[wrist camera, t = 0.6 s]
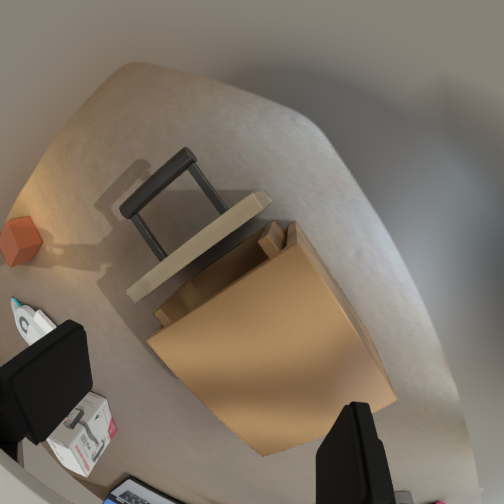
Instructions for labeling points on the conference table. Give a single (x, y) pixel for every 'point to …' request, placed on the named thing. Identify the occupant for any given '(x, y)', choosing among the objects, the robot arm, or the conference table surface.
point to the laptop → (137, 494)
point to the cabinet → (277, 351)
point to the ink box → (83, 434)
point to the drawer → (200, 241)
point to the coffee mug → (403, 497)
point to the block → (19, 241)
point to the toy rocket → (31, 322)
